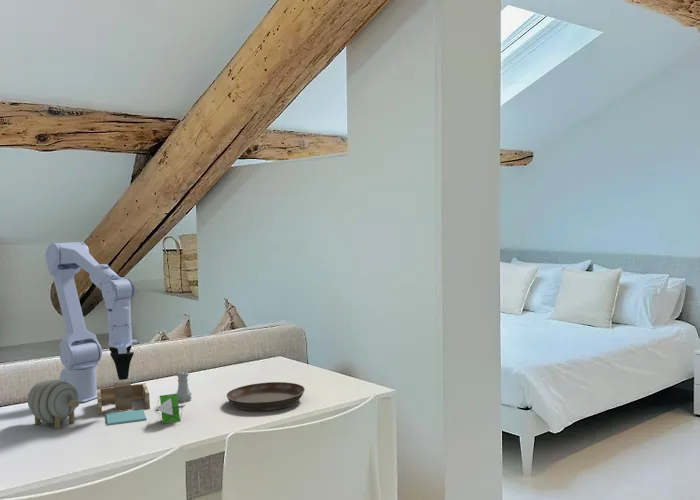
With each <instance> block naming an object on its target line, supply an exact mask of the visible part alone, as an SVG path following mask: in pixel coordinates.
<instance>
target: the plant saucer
mask: <svg viewBox="0 0 700 500" xmlns="http://www.w3.org/2000/svg"><path fill="white" fill-rule="evenodd" d="M305 390H306V388H305V386H303V385H301V384H298V383H294V382H283V381H276V382H275V381H270V382H260V383H253V384H246V385H242V386H238V387H236V388H234V389H232V390H229V391H228V392H227V393H226V398H227V399H228V401H229V402H230V403H231V404H232V405H233V406H234V407H236V408H238V409H240V410H242V411H243V410H245V411H249V412H250V411H251V412H267V411H268V412H269V411H275V410H280V409H284V408H285V409H286V408H288V407H290V406H293V405H294V404H296V403H297V402H298V401H299V400H300V399H301V398H302V396H303V394H304V393H305Z"/></svg>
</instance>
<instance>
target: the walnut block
mask: <svg viewBox="0 0 700 500" xmlns="http://www.w3.org/2000/svg"><path fill="white" fill-rule="evenodd" d="M131 385H132V384H131V381H124V382H117V383H114V386H113V387H115V402H114V403H115V404H114V405H115V412H120V411H119V410H122V411H129V410H128V409H130V410H133V400H132V391H131Z"/></svg>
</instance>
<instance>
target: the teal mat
mask: <svg viewBox="0 0 700 500" xmlns="http://www.w3.org/2000/svg"><path fill="white" fill-rule="evenodd" d="M105 414H106V415H105V416H106V423H107V426H110V425H118V424H126V423H132V422H141V421H147V417H146V414H145V411H144V408H142V409H131V410H123V411H115V412H109V413H105Z"/></svg>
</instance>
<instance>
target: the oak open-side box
mask: <svg viewBox="0 0 700 500" xmlns="http://www.w3.org/2000/svg"><path fill="white" fill-rule="evenodd" d="M131 391H132V401H136V400H143V402H144V405H145V408H146V409H150V408H151V406H150V405H151V404H150V403H151V402H150V401H151V400H150V392H149V389H148V387H147V384H146V383H138V384H131ZM96 399H97V409H98V410H97V412H98V415H101V416H102V415H103V409H102V405H103V404H110V403H111V404H112V403H115V386H111V387H102V388H100V387H99V388H97V398H96Z"/></svg>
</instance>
